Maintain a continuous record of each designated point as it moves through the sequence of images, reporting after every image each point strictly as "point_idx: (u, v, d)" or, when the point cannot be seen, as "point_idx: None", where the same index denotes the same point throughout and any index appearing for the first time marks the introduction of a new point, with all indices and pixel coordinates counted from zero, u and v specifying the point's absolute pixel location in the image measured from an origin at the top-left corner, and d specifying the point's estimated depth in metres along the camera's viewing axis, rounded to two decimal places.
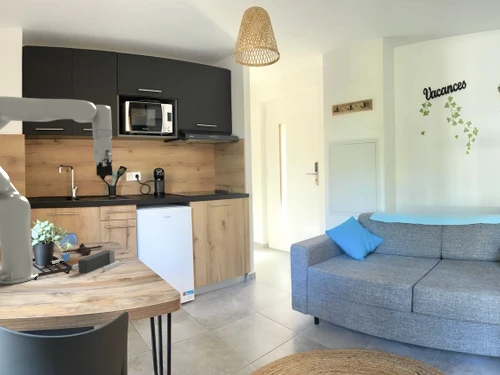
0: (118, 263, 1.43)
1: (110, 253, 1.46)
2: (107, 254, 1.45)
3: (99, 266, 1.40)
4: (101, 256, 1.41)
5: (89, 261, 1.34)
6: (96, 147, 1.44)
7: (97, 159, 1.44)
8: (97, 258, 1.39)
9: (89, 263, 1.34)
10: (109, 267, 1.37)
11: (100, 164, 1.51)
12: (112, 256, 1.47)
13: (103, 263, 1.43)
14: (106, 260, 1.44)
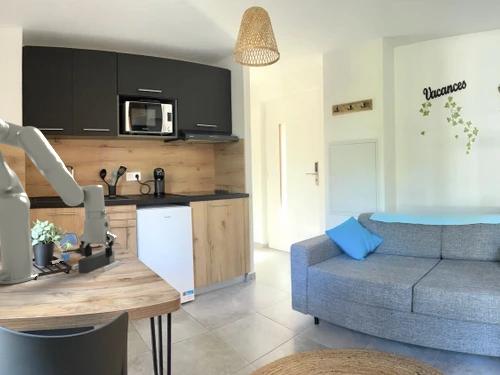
0: (118, 263, 1.43)
1: None
2: None
3: (99, 266, 1.40)
4: (101, 256, 1.41)
5: (89, 261, 1.34)
6: None
7: None
8: (97, 258, 1.39)
9: (89, 263, 1.34)
10: (109, 267, 1.37)
11: None
12: (112, 256, 1.47)
13: (103, 263, 1.43)
14: (106, 260, 1.44)
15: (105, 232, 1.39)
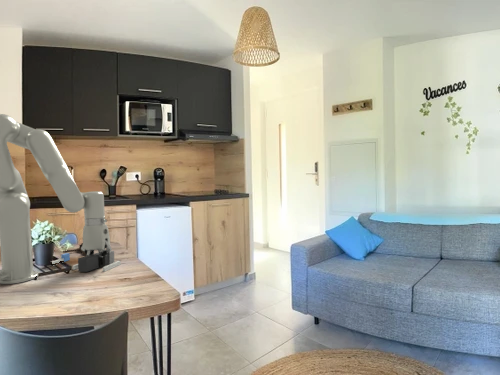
0: (118, 263, 1.43)
1: (110, 253, 1.46)
2: (107, 254, 1.45)
3: None
4: None
5: (89, 260, 1.34)
6: None
7: None
8: (97, 257, 1.39)
9: (89, 262, 1.34)
10: (109, 267, 1.37)
11: None
12: (112, 256, 1.47)
13: None
14: (106, 260, 1.44)
15: (104, 239, 1.39)
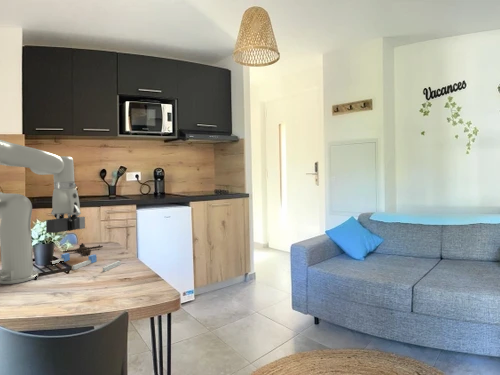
0: (118, 263, 1.43)
1: (80, 218, 1.48)
2: (77, 219, 1.47)
3: None
4: None
5: (57, 221, 1.37)
6: None
7: None
8: (66, 220, 1.41)
9: (57, 223, 1.37)
10: (109, 267, 1.37)
11: None
12: (82, 222, 1.50)
13: None
14: (76, 224, 1.46)
15: (73, 203, 1.41)
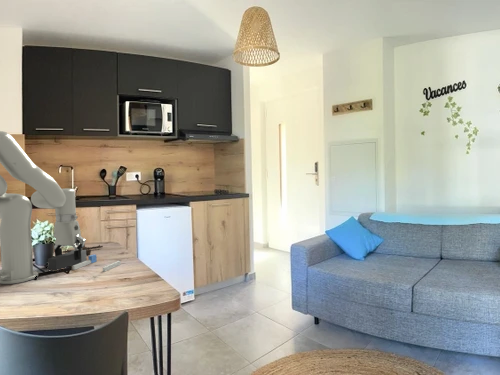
0: (118, 263, 1.43)
1: (81, 252, 1.49)
2: None
3: (69, 265, 1.43)
4: (72, 255, 1.44)
5: (59, 260, 1.37)
6: None
7: None
8: (67, 257, 1.42)
9: (58, 262, 1.37)
10: (109, 267, 1.37)
11: None
12: (84, 255, 1.50)
13: (74, 262, 1.46)
14: None
15: (75, 235, 1.42)
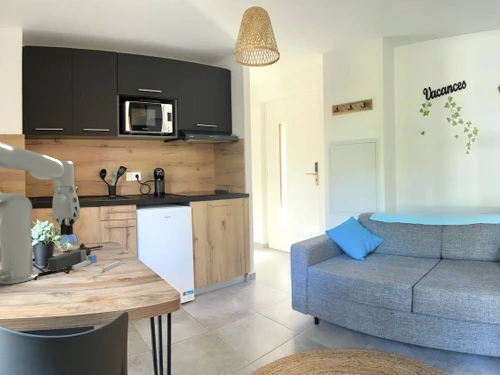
0: (118, 263, 1.43)
1: (81, 252, 1.49)
2: (78, 253, 1.48)
3: (69, 265, 1.43)
4: (72, 255, 1.44)
5: (58, 260, 1.37)
6: None
7: None
8: (67, 257, 1.42)
9: (58, 262, 1.37)
10: (109, 267, 1.37)
11: None
12: (84, 255, 1.50)
13: (74, 262, 1.46)
14: (77, 259, 1.47)
15: (73, 207, 1.41)
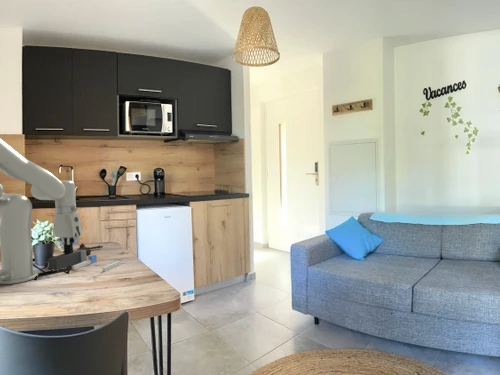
0: (118, 263, 1.43)
1: (82, 252, 1.49)
2: (78, 253, 1.48)
3: (70, 265, 1.43)
4: (72, 255, 1.44)
5: (59, 260, 1.37)
6: None
7: None
8: (67, 257, 1.42)
9: (59, 262, 1.37)
10: (109, 267, 1.37)
11: None
12: (84, 255, 1.50)
13: (75, 261, 1.46)
14: (77, 259, 1.47)
15: (75, 227, 1.42)
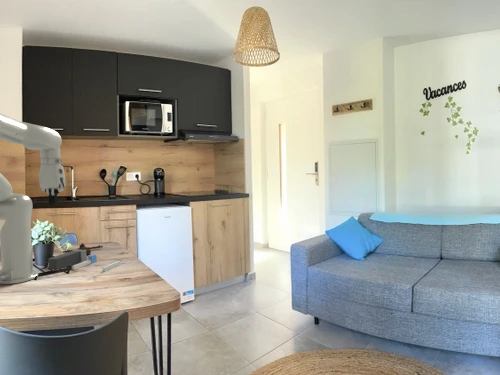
0: (118, 263, 1.43)
1: (82, 252, 1.49)
2: (78, 253, 1.48)
3: (70, 265, 1.43)
4: (72, 255, 1.44)
5: (59, 260, 1.37)
6: None
7: None
8: (67, 257, 1.42)
9: (59, 262, 1.37)
10: (109, 267, 1.37)
11: None
12: (84, 255, 1.50)
13: (75, 262, 1.46)
14: (77, 259, 1.47)
15: (59, 178, 1.48)
